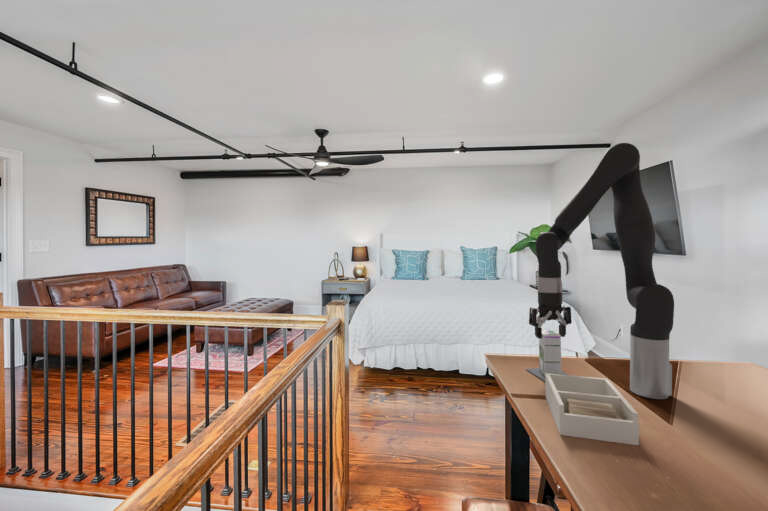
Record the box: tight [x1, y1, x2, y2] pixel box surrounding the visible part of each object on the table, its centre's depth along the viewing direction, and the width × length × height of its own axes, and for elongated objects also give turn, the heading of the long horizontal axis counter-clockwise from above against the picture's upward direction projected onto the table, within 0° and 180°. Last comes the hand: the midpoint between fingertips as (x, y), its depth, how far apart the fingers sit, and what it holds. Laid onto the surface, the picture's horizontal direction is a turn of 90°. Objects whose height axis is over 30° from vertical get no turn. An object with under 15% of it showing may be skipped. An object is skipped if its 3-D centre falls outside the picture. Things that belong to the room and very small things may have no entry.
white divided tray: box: [544, 373, 640, 446], centre depth 88 cm, size 21×16×7 cm
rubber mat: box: [525, 367, 569, 383], centre depth 117 cm, size 11×11×1 cm
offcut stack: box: [567, 399, 623, 420], centre depth 82 cm, size 5×12×6 cm, turn 73°
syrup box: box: [538, 329, 562, 376], centre depth 117 cm, size 6×6×14 cm
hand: (550, 337), depth 116 cm, fingers open, 8 cm apart
